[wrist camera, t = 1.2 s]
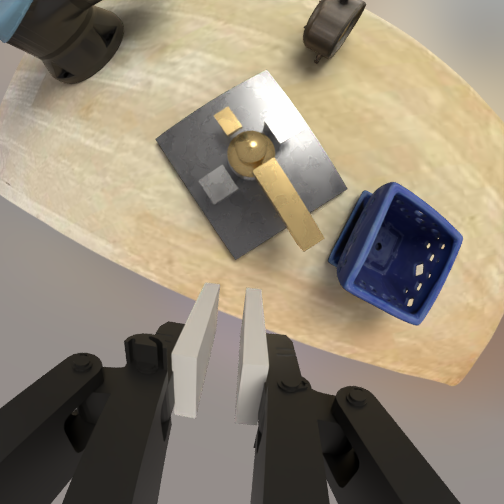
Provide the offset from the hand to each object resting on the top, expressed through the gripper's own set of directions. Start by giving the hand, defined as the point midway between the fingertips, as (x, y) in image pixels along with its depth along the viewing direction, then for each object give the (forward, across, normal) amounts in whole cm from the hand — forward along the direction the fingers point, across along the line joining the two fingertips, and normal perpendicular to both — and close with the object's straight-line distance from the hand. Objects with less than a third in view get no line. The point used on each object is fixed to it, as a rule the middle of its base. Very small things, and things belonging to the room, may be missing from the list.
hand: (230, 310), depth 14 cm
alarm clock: (+25, +8, +32) cm, 41 cm away
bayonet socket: (+24, 0, +10) cm, 27 cm away
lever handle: (+19, +1, +9) cm, 21 cm away
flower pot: (+25, +19, +2) cm, 31 cm away
